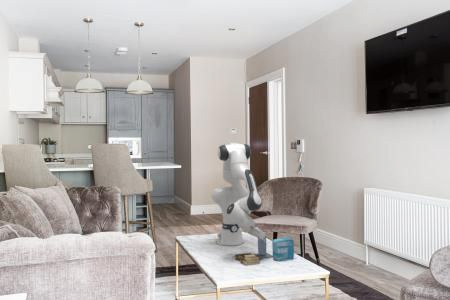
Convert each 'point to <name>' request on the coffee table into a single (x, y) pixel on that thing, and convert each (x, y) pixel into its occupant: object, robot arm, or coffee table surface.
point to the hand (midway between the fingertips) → (262, 240)
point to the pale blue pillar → (262, 246)
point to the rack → (241, 256)
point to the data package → (283, 249)
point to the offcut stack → (250, 260)
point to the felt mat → (263, 255)
